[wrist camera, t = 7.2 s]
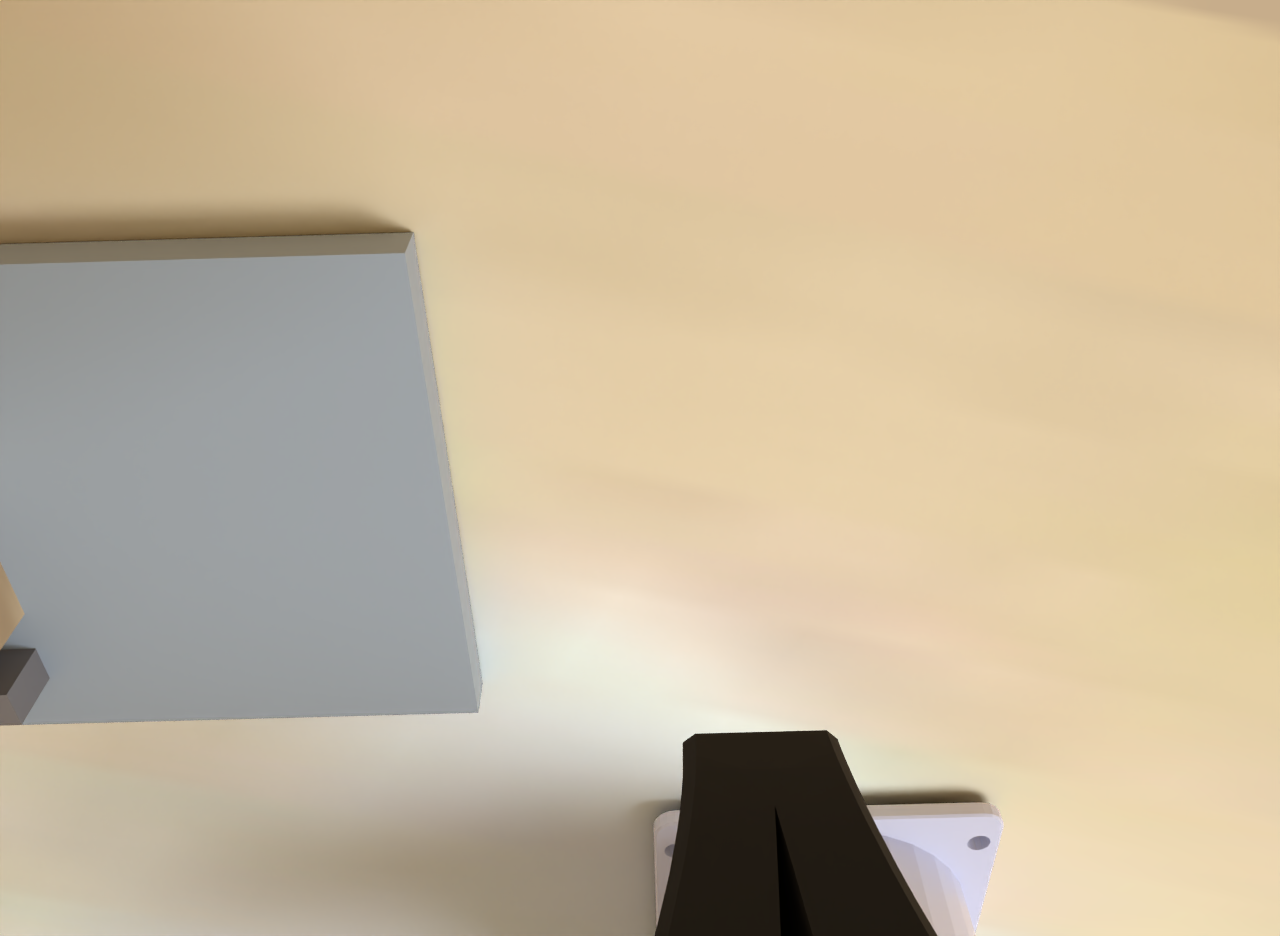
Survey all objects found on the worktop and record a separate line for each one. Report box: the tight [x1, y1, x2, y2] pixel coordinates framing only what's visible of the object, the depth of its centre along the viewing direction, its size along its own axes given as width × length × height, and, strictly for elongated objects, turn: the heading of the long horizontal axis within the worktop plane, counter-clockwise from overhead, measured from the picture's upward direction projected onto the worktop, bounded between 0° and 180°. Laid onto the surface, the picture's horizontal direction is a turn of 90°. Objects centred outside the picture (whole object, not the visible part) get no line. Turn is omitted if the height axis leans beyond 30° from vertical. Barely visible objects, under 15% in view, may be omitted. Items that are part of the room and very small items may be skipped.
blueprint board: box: [0, 232, 482, 725], centre depth 19 cm, size 10×15×2 cm, turn 91°
